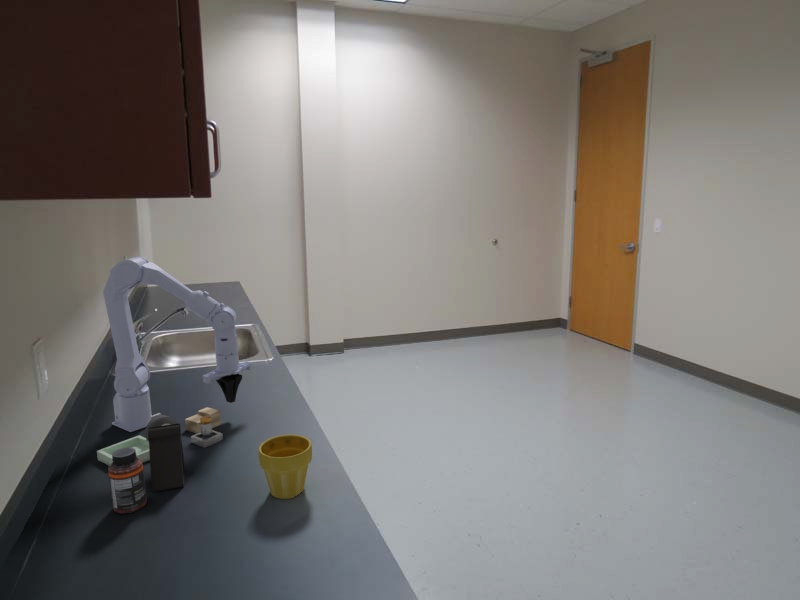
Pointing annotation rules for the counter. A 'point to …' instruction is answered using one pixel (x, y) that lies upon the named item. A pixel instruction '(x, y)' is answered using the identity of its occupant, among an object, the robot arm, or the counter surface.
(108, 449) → the tray
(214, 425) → the block
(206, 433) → the pin
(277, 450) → the plant pot
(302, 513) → the counter surface
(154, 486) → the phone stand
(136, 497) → the supplement bottle
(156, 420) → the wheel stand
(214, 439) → the pin socket
